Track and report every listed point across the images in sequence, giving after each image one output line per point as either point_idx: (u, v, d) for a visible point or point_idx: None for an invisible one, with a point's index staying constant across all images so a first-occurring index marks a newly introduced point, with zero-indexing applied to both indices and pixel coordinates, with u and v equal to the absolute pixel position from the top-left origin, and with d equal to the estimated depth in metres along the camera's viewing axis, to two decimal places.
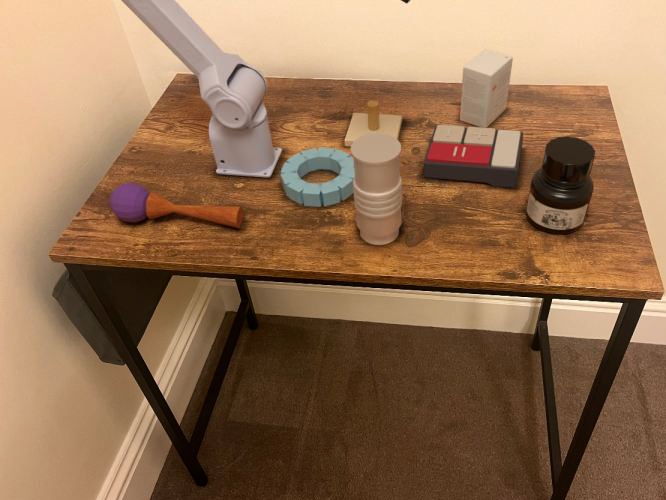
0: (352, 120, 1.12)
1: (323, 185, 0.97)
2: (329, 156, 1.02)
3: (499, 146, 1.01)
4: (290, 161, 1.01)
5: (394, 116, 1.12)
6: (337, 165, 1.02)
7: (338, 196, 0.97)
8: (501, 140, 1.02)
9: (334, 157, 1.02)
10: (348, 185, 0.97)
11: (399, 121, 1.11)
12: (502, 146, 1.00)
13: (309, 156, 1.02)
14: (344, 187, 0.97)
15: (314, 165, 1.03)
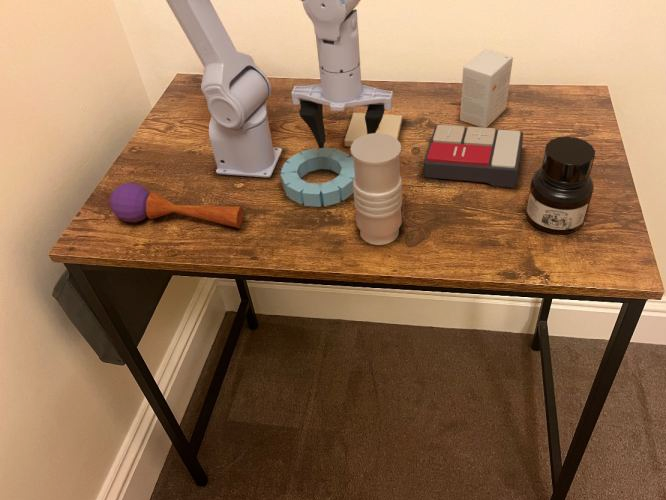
0: (352, 120, 1.12)
1: (323, 185, 0.97)
2: (329, 156, 1.02)
3: (499, 146, 1.01)
4: (290, 161, 1.01)
5: (394, 116, 1.12)
6: (337, 165, 1.02)
7: (338, 196, 0.97)
8: (501, 140, 1.02)
9: (334, 157, 1.02)
10: (348, 185, 0.97)
11: (399, 121, 1.11)
12: (502, 146, 1.00)
13: (309, 156, 1.02)
14: (344, 187, 0.97)
15: (314, 165, 1.03)
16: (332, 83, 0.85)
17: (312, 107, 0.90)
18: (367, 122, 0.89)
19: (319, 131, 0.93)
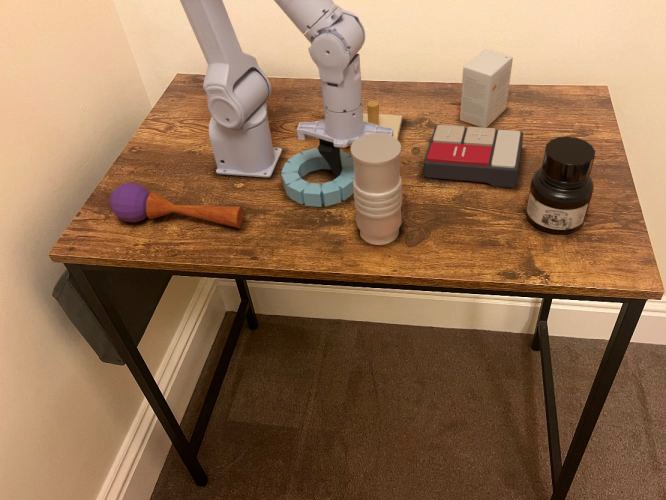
0: None
1: (324, 184, 0.97)
2: None
3: (499, 146, 1.01)
4: (291, 161, 1.01)
5: (394, 116, 1.12)
6: None
7: (339, 196, 0.97)
8: (501, 140, 1.02)
9: None
10: (349, 185, 0.97)
11: (399, 121, 1.11)
12: (502, 146, 1.00)
13: (309, 156, 1.02)
14: (345, 187, 0.97)
15: (315, 165, 1.03)
16: (336, 122, 0.89)
17: (330, 143, 0.94)
18: None
19: (336, 165, 0.97)
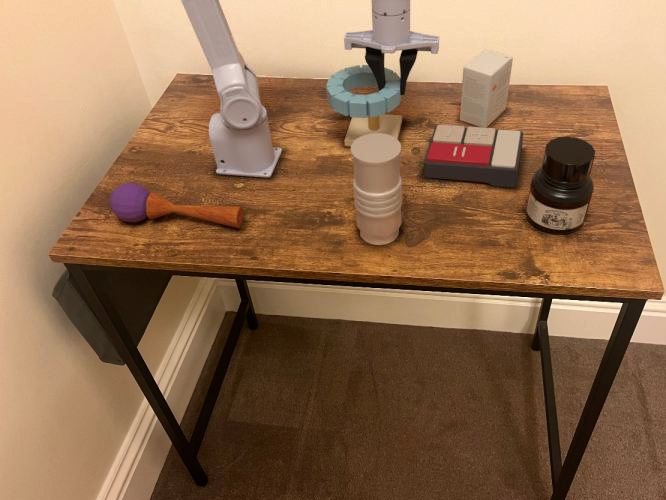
0: (352, 120, 1.12)
1: (369, 96, 0.98)
2: (372, 72, 1.04)
3: (499, 146, 1.01)
4: (335, 76, 1.03)
5: (394, 116, 1.12)
6: None
7: (384, 107, 0.99)
8: (501, 140, 1.02)
9: None
10: (393, 96, 0.99)
11: (399, 121, 1.11)
12: (502, 146, 1.00)
13: (353, 72, 1.04)
14: (390, 98, 0.98)
15: (358, 82, 1.05)
16: (384, 26, 0.91)
17: (377, 52, 0.96)
18: (401, 65, 0.95)
19: (381, 77, 0.99)
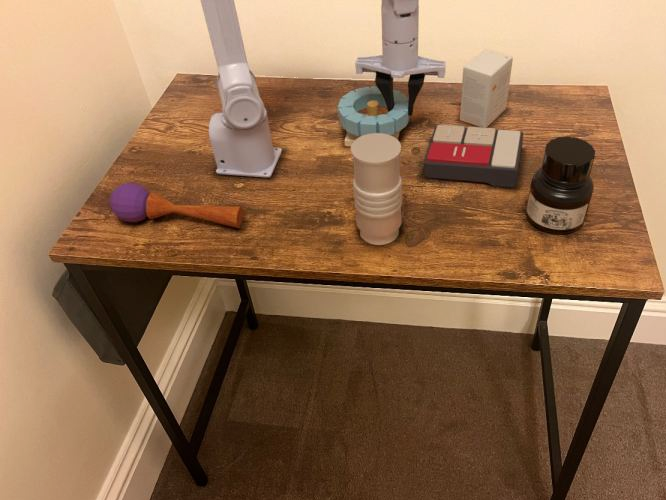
0: None
1: (379, 117, 1.04)
2: None
3: (499, 146, 1.01)
4: (346, 97, 1.08)
5: None
6: None
7: (393, 127, 1.04)
8: (501, 140, 1.02)
9: None
10: (402, 117, 1.04)
11: None
12: (502, 146, 1.00)
13: (363, 93, 1.09)
14: (398, 119, 1.04)
15: (367, 102, 1.10)
16: (394, 53, 0.96)
17: (386, 76, 1.01)
18: (409, 88, 1.01)
19: (390, 99, 1.04)
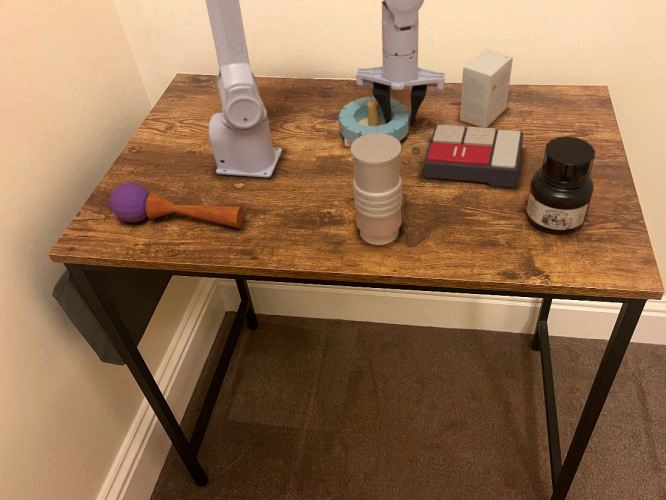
0: None
1: (379, 127, 1.05)
2: None
3: (499, 146, 1.01)
4: (346, 108, 1.10)
5: None
6: None
7: None
8: (501, 140, 1.02)
9: None
10: (402, 128, 1.06)
11: None
12: (502, 146, 1.00)
13: (363, 103, 1.11)
14: (398, 129, 1.05)
15: None
16: (394, 65, 0.98)
17: (383, 87, 1.03)
18: (412, 99, 1.02)
19: (388, 109, 1.06)
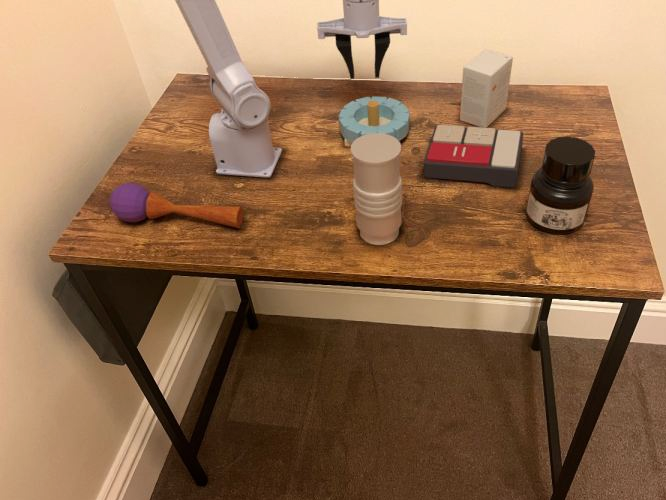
0: None
1: (379, 127, 1.05)
2: (382, 103, 1.10)
3: (499, 146, 1.01)
4: (346, 108, 1.10)
5: None
6: (390, 111, 1.10)
7: None
8: (501, 140, 1.02)
9: (387, 104, 1.10)
10: (402, 128, 1.06)
11: None
12: (502, 146, 1.00)
13: (363, 103, 1.11)
14: (398, 129, 1.05)
15: None
16: (357, 13, 0.96)
17: (346, 39, 1.01)
18: (377, 48, 1.01)
19: (352, 62, 1.04)
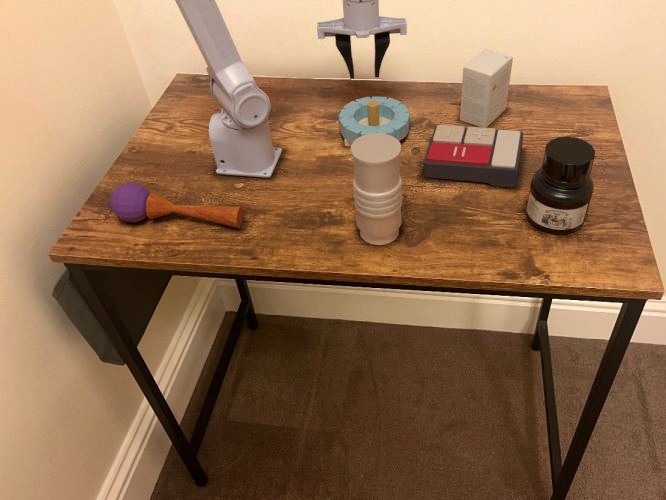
0: None
1: (379, 127, 1.05)
2: (382, 103, 1.10)
3: (499, 146, 1.01)
4: (346, 108, 1.10)
5: None
6: (390, 111, 1.10)
7: None
8: (501, 140, 1.02)
9: (387, 104, 1.10)
10: (402, 128, 1.06)
11: None
12: (502, 146, 1.00)
13: (363, 103, 1.11)
14: (398, 129, 1.05)
15: None
16: (357, 12, 0.96)
17: (346, 39, 1.01)
18: (377, 48, 1.01)
19: (352, 62, 1.04)
